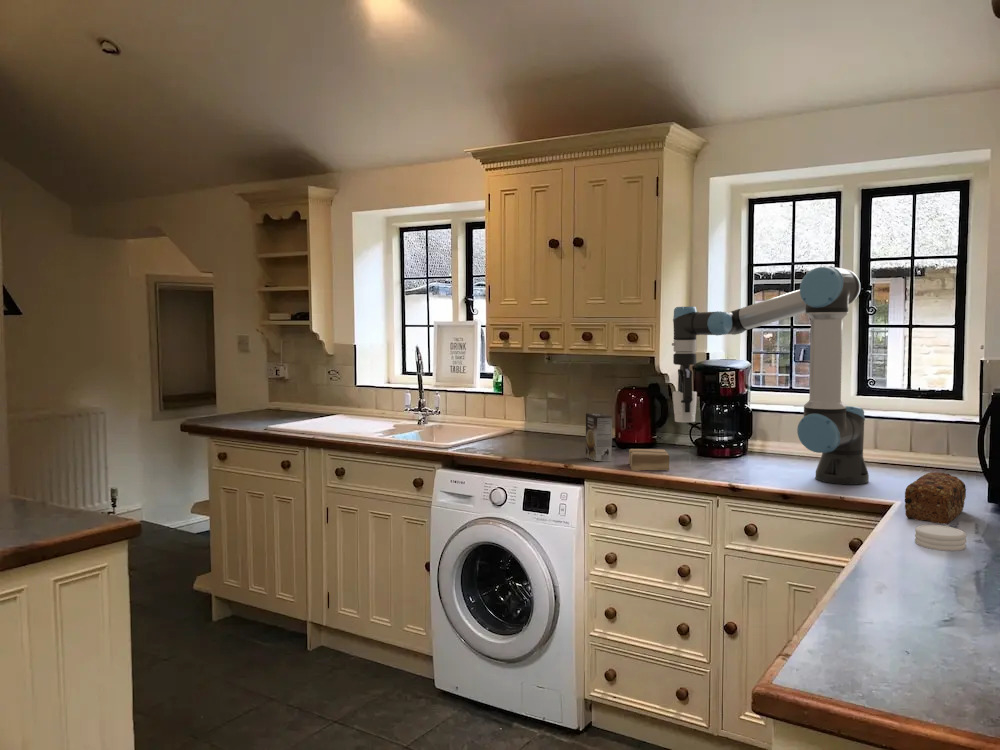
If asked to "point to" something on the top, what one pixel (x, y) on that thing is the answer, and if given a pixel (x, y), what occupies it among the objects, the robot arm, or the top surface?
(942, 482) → the bread
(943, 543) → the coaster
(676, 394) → the white cup
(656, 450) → the oak block
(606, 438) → the coffee box
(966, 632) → the top surface
